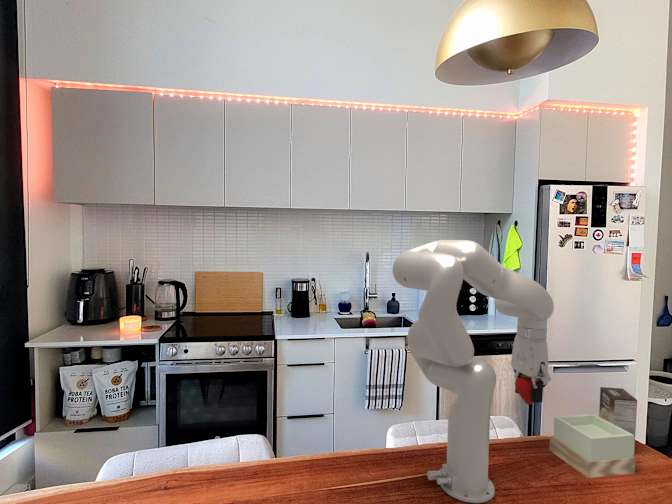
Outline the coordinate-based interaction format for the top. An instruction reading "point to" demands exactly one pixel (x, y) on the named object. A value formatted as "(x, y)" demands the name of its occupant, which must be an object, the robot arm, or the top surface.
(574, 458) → the maple base block
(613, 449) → the sage top block
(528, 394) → the strawberry
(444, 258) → the robot arm
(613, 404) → the coffee box
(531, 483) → the top surface
